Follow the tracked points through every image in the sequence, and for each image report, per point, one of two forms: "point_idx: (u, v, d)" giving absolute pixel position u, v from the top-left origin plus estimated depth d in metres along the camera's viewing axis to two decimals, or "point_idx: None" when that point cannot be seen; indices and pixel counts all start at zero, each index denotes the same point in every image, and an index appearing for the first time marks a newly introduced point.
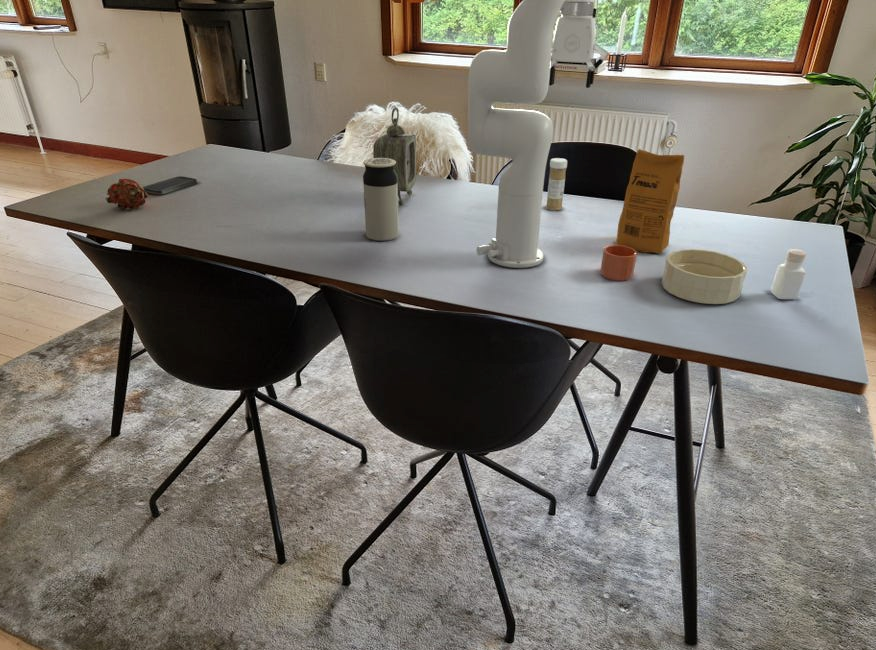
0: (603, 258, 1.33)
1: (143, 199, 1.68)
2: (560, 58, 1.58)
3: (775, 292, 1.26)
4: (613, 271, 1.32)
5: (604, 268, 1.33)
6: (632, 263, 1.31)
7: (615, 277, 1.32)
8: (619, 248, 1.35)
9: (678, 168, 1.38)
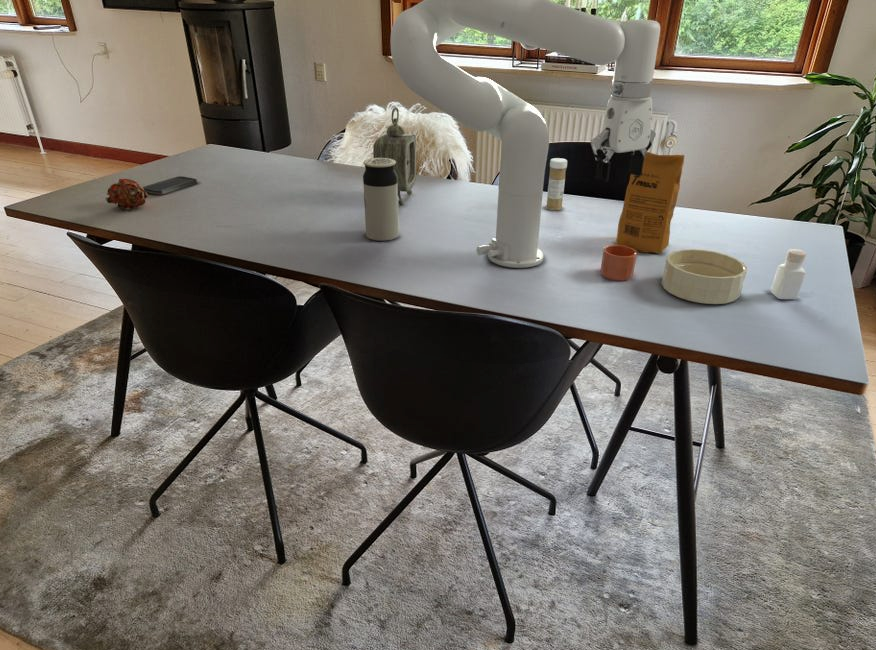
0: (603, 258, 1.33)
1: (143, 199, 1.68)
2: (623, 149, 1.26)
3: (775, 292, 1.26)
4: (613, 271, 1.32)
5: (604, 268, 1.33)
6: (632, 263, 1.31)
7: (615, 277, 1.32)
8: (619, 248, 1.35)
9: (678, 168, 1.38)
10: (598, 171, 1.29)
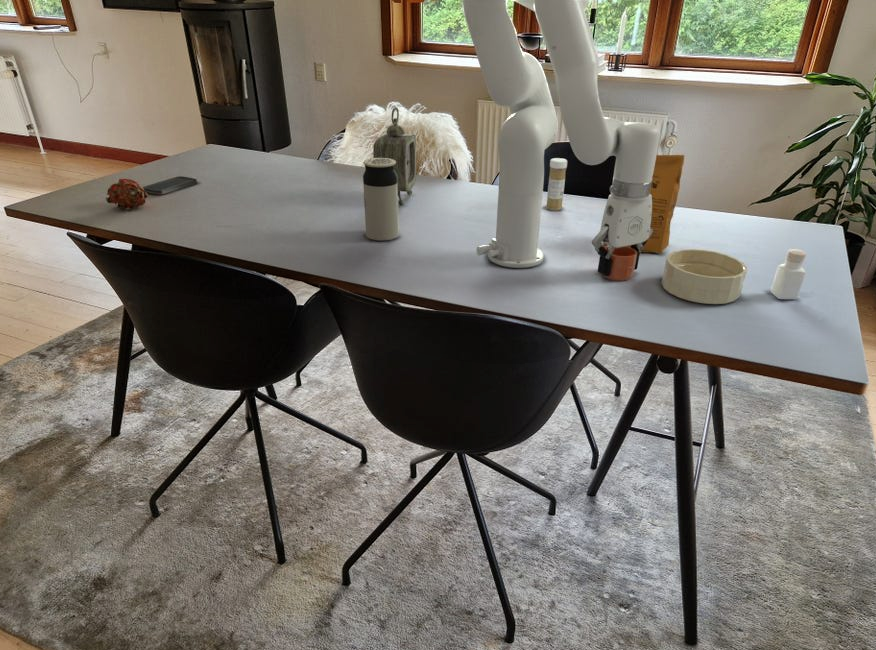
0: None
1: (143, 199, 1.68)
2: (622, 244, 1.28)
3: (775, 292, 1.26)
4: (613, 271, 1.32)
5: None
6: (632, 263, 1.31)
7: (615, 277, 1.32)
8: (619, 248, 1.35)
9: (678, 168, 1.38)
10: (600, 265, 1.32)
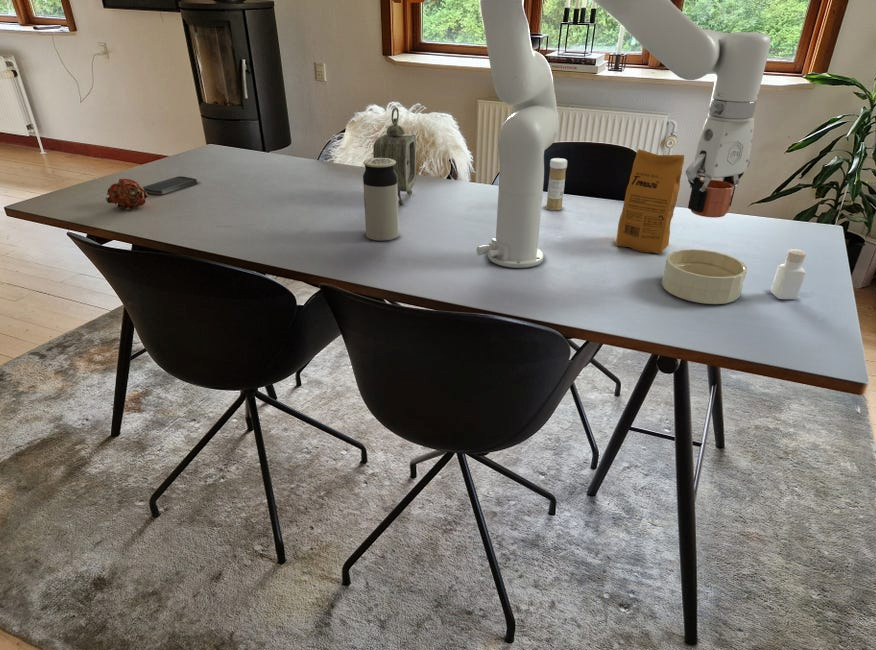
0: None
1: (143, 199, 1.68)
2: (720, 174, 1.14)
3: (775, 292, 1.26)
4: (707, 206, 1.18)
5: None
6: (729, 196, 1.17)
7: (709, 213, 1.18)
8: (711, 183, 1.22)
9: (678, 168, 1.38)
10: (692, 200, 1.18)
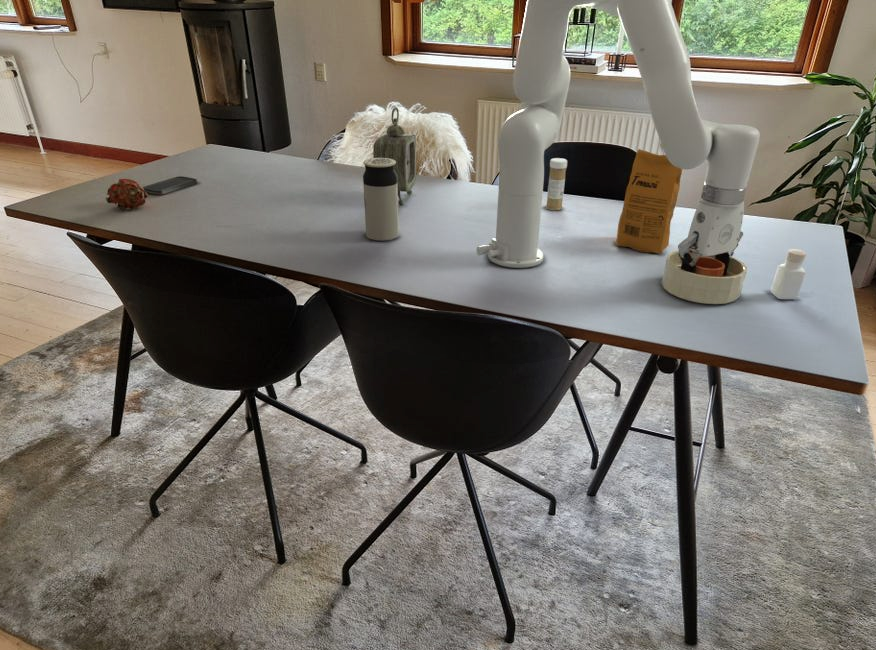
0: None
1: (143, 199, 1.68)
2: (712, 253, 1.21)
3: (775, 292, 1.26)
4: None
5: None
6: (720, 275, 1.25)
7: None
8: (703, 260, 1.29)
9: (678, 168, 1.38)
10: None
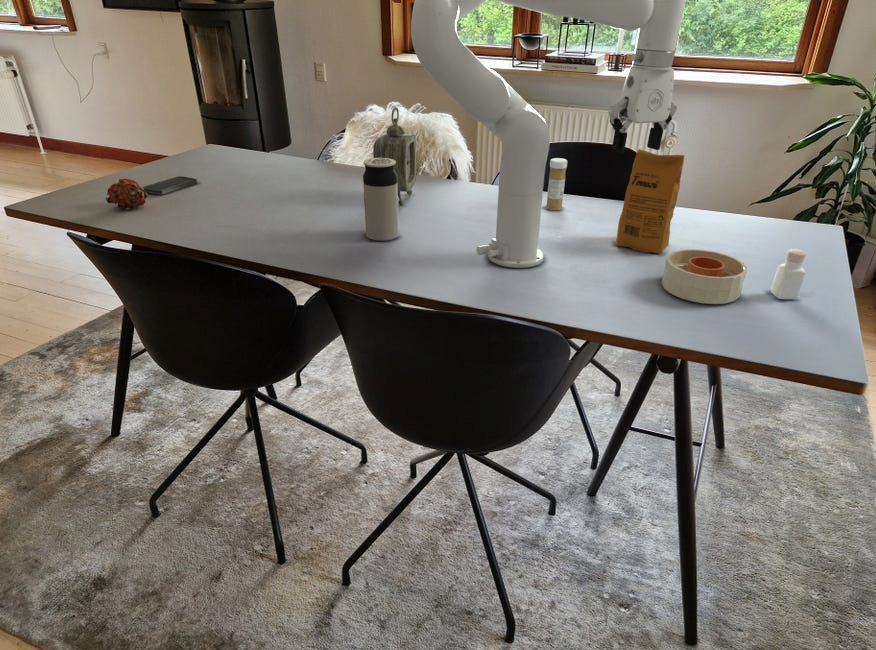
0: (688, 270, 1.27)
1: (143, 199, 1.68)
2: (641, 119, 1.25)
3: (775, 292, 1.26)
4: None
5: None
6: (720, 275, 1.25)
7: None
8: (703, 260, 1.29)
9: (678, 168, 1.38)
10: (614, 141, 1.28)
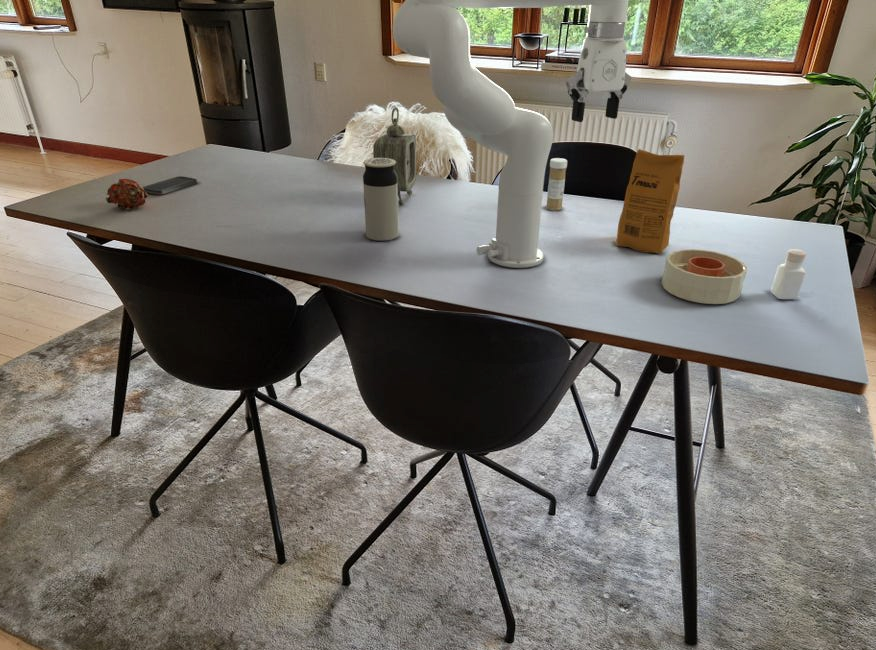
0: (688, 270, 1.27)
1: (143, 199, 1.68)
2: (597, 89, 1.32)
3: (775, 292, 1.26)
4: None
5: None
6: (720, 275, 1.25)
7: None
8: (703, 260, 1.29)
9: (678, 168, 1.38)
10: (573, 111, 1.35)
